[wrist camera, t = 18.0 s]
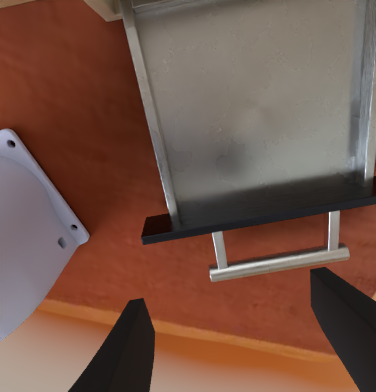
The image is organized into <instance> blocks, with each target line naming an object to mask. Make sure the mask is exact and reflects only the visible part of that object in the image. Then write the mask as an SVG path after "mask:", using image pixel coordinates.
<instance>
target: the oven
mask: <svg viewBox="0 0 376 392" xmlns="http://www.w3.org/2000/svg"><path fill="white" fill-rule="evenodd" d="M83 1H85V2H86V3H87V4H88V5H89V6H90V7H91V8H92V9H93V10H95V11H96V12H97V13H98V14H99V15H100V16H101V17H102V18H103V19H104V20H105V21H106V22H109V21H114V20H119V19H122V15H121V11H120V6H119V2H118V0H83Z"/></svg>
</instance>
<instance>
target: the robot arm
mask: <svg viewBox="0 0 376 392" xmlns="http://www.w3.org/2000/svg"><path fill="white" fill-rule="evenodd" d="M11 140H12V141H14V142H15V147H14V146H12V145H11ZM72 225H76V226H77V228H74V227H73V226H72ZM89 237H90V235H89V233H88V232H87V230H86V229H85V228H84V226H83V225H82V223H81V222H80V221H79V219H78V218H77V217H76V215H75V214H74V212H73V211H72V210H71V208H70V207H69V206H68V204H67V203H66V202H65V200H64V199H63V197H62V196H61V195H60V193H59V192H58V191H57V189H56V188H55V186H54V185H53V184H52V182H51V181H50V180H49V178H48V177H47V176H46V174H45V173H44V171H43V170H42V169H41V167H40V166H39V165H38V163H37V162H36V160H35V159H34V158H33V156H32V155H31V154H30V152H29V151H28V150H27V148H26V147H25V145H24V144H23V143H22V141H21V140H20V139H19V137H18V136H17V134H16V133H15V132H14V131H13V130H11V129H3V130H0V341H1V340H3V339H4V338H5V337H7V336H8V335H9V334H10V333H12V332H13V331H14V330H15V329H16V328H17V327H18V326H20V325H21V324H22V323H23V322H24V321H25V320H26V319H27V318H28V317H29V316H30V315H31V314H32V313H33V312H34V310H35V309H36V308H37V307H38V306H39V305H40V303H41V302H42V301H43V300H44V298H45V297H46V295H47V294H48V292H49V291H50V289H51V288H52V286H53V285H54V283H55V281H56V280H57V278H58V277H59V275H60V274H61V272H62V271H63V269H64V268H65V266H66V264H67V263H68V261H69V260H70V258H71V257H72V255H73V254H74V252H75V251H76V249H77V247H78V246H79V245H81V244H83V243H85V242H87V241H88V239H89ZM310 281H311V307H312V309H313V311H314V314H315V316H316V318H317V320H318V322H319V324H320V326H321V328H322V330H323V332H324V334H325V335H326V337H327V339H328V340H329V342H330V343H331V345H332V347H333V348H334V350H335V352H336V353H337V355H338V356H339V358H340V359H341V361H342V363H343V364H344V366H345V368H346V369H347V371H348V372H349V374H350V376H351V377H352V379H353V380H354V382H355V384H356V385H357V387H358V389H359V390H360V392H376V301H374V300H373V299H371V298H370V297H368V296H367V295H365V294H364V293H362V292H361V291H359V290H358V289H356V288H355V287H353V286H352V285H350V284H349V283H348V282H346V281H345V280H343V279H342V278H340V277H339V276H337V275H336V274H335V273H333V272H332V271H330V270H329V269H327V268H326V267H322V268H316V269H310ZM154 346H155V331H154V328H153V325H152V322H151V319H150V316H149V313H148V310H147V307H146V304H145V301H144V299H143V298H141V299H135V300H130V301H129V302H128V304H127V305H126V307H125V309H124V310H123V312H122V314H121V315H120V317H119V319H118V320H117V322H116V324H115V325H114V327H113V329H112V330H111V332H110V333H109V335H108V336H107V338H106V339H105V341H104V343H103V344H102V346H101V347H100V349H99V350H98V352H97V353H96V355H95V356H94V357H93V359H92V360H91V362H90V363H89V365H88V366H87V368H86V369H85V370H84V372H83V373H82V374H81V376H80V377H79V378H78V380H77V381H76V382H75V383H74V385H73V386H72V387H71V388H70V390H69V391H68V392H149V391H150V384H151V376H152V369H153V362H154Z"/></svg>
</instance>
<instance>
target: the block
mask: <svg viewBox="0 0 376 392" xmlns="http://www.w3.org/2000/svg"><path fill="white" fill-rule="evenodd" d="M30 1H35V0H0V8H4V7H8V6H13V5H17V4H21V3H26V2H30Z"/></svg>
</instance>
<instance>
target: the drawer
mask: <svg viewBox="0 0 376 392" xmlns="http://www.w3.org/2000/svg"><path fill="white" fill-rule="evenodd" d="M118 2H119V6H120V11H121V15H122V19H123V23H124V27H125V31H126V36H127V40H128V44H129V48H130V52H131V56H132V61H133V65H134V69H135V73H136V77H137V81H138V86H139V90H140V94H141V98H142V102H143V106H144V111H145V115H146V119H147V123H148V127H149V131H150V136H151V140H152V144H153V148H154V152H155V156H156V161H157V165H158V169H159V173H160V177H161V181H162V186H163V190H164V194H165V198H166V202H167V206H168V211H169V213H168V214H162V215H157V216H151V217H147V218H146V220H145V224H144V228H143V232H142V235H141V240H142V243H143V245H146V244H152V243H157V242H163V241H169V240H174V239H180V238H186V237H192V236H197V235H203V234H209V233H212V238H213V244H214V250H215V255H216V261H217V264H211V265H208V268H209V274H210V279H211V282H216V281H222V280H228V279H234V278H240V277H246V276H252V275H258V274H264V273H270V272H276V271H282V270H288V269H294V268H300V267H306V266H312V265H318V264H324V263H330V262H336V261H342V260H347V259H349V256H350V254H349V250H348V247H347V246H346V245H345V244H344V243H339V221H340V210H346V209H351V208H357V207H363V206H368V205H374V204H376V176H374V168H375V158H376V0H118ZM323 213H324V245H323V246H318V247H312V248H306V249H300V250H294V251H288V252H282V253H276V254H270V255H265V256H259V257H253V258H247V259H241V260H235V261H229V262H227V258H226V251H225V245H224V238H223V232H222V231H226V230H231V229H237V228H243V227H249V226H254V225H260V224H266V223H271V222H277V221H283V220H289V219H294V218H300V217H306V216H311V215H317V214H323Z"/></svg>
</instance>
